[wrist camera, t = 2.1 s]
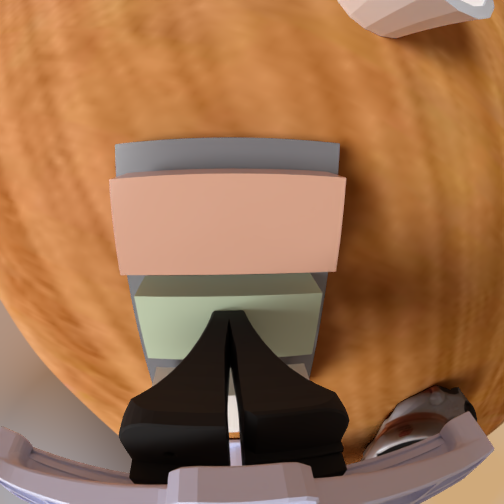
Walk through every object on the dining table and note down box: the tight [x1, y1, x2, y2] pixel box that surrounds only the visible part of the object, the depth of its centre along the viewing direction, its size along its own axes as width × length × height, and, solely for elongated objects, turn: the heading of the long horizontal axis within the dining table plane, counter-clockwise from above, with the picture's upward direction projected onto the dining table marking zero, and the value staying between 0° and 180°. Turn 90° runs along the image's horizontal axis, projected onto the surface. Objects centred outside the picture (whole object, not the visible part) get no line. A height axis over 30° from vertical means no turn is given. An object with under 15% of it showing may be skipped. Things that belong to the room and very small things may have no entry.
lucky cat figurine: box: [361, 385, 477, 461], centre depth 19 cm, size 15×12×14 cm
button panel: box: [115, 138, 340, 383], centre depth 15 cm, size 16×10×2 cm, turn 179°
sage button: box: [134, 273, 322, 359], centre depth 13 cm, size 4×8×2 cm, turn 89°
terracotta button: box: [109, 169, 346, 275], centre depth 10 cm, size 4×8×2 cm, turn 89°
